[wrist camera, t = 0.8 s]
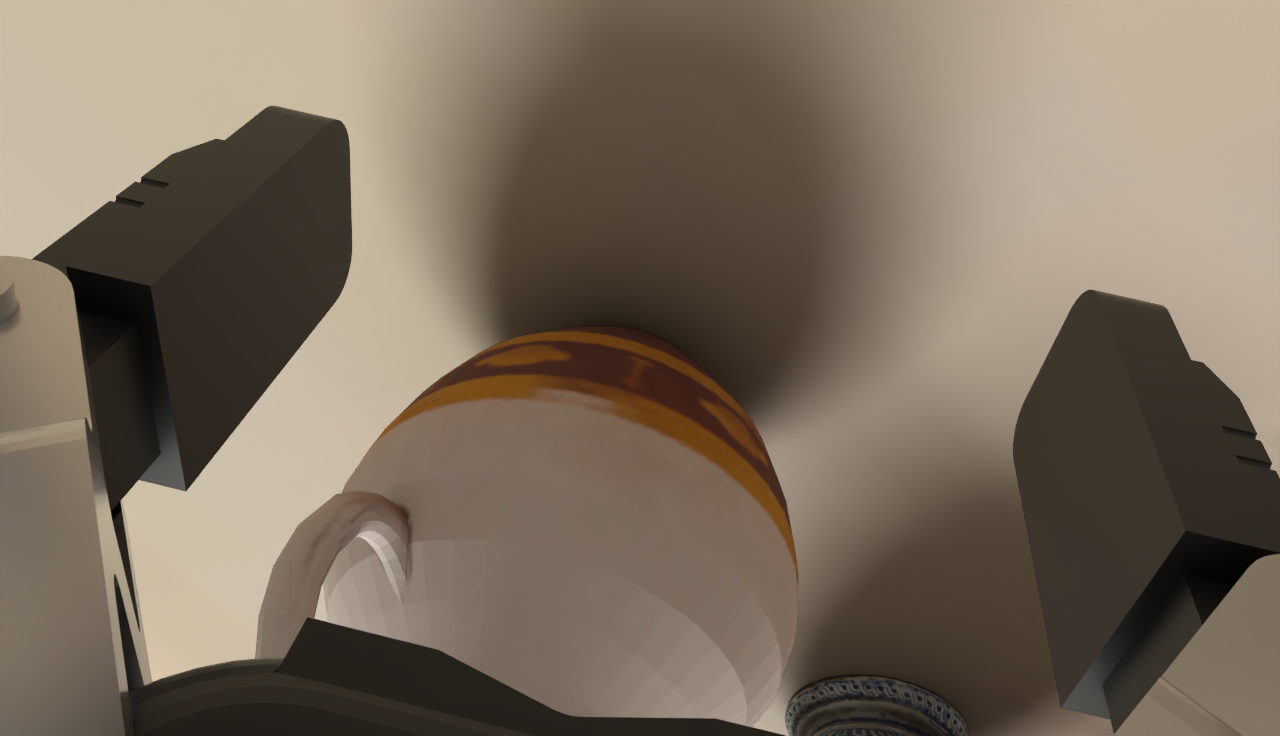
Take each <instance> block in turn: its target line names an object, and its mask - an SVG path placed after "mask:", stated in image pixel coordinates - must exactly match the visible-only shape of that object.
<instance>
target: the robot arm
mask: <svg viewBox="0 0 1280 736" xmlns="http://www.w3.org/2000/svg"><path fill="white" fill-rule="evenodd" d="M351 256H352V222H351V183H350V147H349V138H348V133H347V130H346V128H345V125H344V124H343V123H342V122H341V121H339V120H336V119H331V118H327V117H322V116H318V115H313V114H309V113H304V112H300V111H295V110H291V109H286V108H282V107H277V106H269V107H267V108H265V109H264V110H263V111H261V112H260V113H259V114H258V115H256V116H255V117H254V118H253V119H251V120H250V121H249V122H247V123H246V124H245V125H244V126H242V127H241V128H240V129H239V130H237V131H236V132H235V133H234V134H232V135H231V136H230V137H228V138H227V139H226V140H225V141H224V140H220V139H214V140H212V141H209V142H206V143H203V144H200V145H197V146H194V147H192V148H189V149H186V150H183V151H180V152H177V153H174V154H172V155H170V156H169V157H168V158H166V159H165V160H164V161H162V162H161V163H160V164H158V165H157V166H156V167H154V168H153V169H152V170H150V171H149V172H148V173H146V174H145V175H144V176H142V177H141V182H140V183H139V182H134V183H133V184H132V185H130V186H129V187H128V188H126V189H125V190H124V191H122V192H121V193H120V194H118V195H117V196H116V201H115V202H112V201H109V202H108V203H106V204H105V205H104V206H102V207H101V208H100V209H98V210H97V211H96V212H94V213H93V214H92V215H90V216H89V217H88V218H86V219H85V220H84V221H82V222H81V223H80V224H78V225H77V226H76V227H74V228H73V229H72V230H70V231H69V232H68V233H66V234H65V235H63V236H62V237H61V238H59V239H58V240H57V241H55V242H54V243H53V244H51V245H50V246H49V247H47V248H46V249H45V250H43V251H42V252H41V253H39V254H38V255H37V256H35V257H34V258H33V259H27V258H22V257H12V256H0V736H785V735H781V734H777V733H773V732H769V731H765V730H761V729H757V728H752V727H748V726H744V725H740V724H736V723H732V722H728V721H724V720H720V719H716V718H639V717H579V716H571V715H567V714H563V713H561V712H558V711H556V710H554V709H552V708H550V707H548V706H546V705H544V704H542V703H540V702H538V701H536V700H534V699H532V698H531V697H529V696H527V695H525V694H523V693H521V692H519V691H517V690H515V689H513V688H511V687H509V686H507V685H506V684H504V683H502V682H500V681H498V680H496V679H494V678H492V677H490V676H488V675H486V674H484V673H482V672H481V671H479V670H477V669H475V668H473V667H471V666H469V665H467V664H465V663H463V662H461V661H459V660H457V659H456V658H454V657H452V656H450V655H448V654H446V653H444V652H442V651H440V650H438V649H434V648H430V647H426V646H422V645H418V644H414V643H410V642H406V641H401V640H397V639H393V638H389V637H385V636H381V635H377V634H373V633H369V632H365V631H361V630H357V629H353V628H349V627H345V626H341V625H337V624H333V623H329V622H325V621H321V620H317V619H313V618H309V617H307V619H306V621H305V622H304V624H303V626H302V628H301V629H300V631H299V633H298V635H297V637H296V638H295V640H294V642H293V644H292V645H291V647H290V649H289V651H288V653H287V654H286V656H285V658H259V659H248V660H238V661H230V662H225V663H220V664H215V665H210V666H205V667H200V668H196V669H192V670H189V671H185V672H182V673H179V674H175V675H172V676H169V677H165V678H162V679H159V680H157V681H154V682H152V678H151V673H150V667H149V661H148V655H147V649H146V642H145V636H144V630H143V623H142V617H141V611H140V604H139V598H138V591H137V585H136V579H135V572H134V566H133V560H132V553H131V547H130V541H129V534H128V528H127V521H126V516H125V512H124V508H123V503H122V498H123V497H124V496H125V495H126V494H127V493H128V491H129V490H130V489H131V488H132V487H133V486H134V484H135V483H136V482H137V481H138V480H142V481H146V482H150V483H154V484H158V485H162V486H166V487H170V488H174V489H179V490H183V491H187V489H188V488H189V487H190V486H191V484H192V483H193V482H194V481H195V479H196V478H197V477H198V476H199V474H200V473H201V472H202V470H203V469H204V468H205V467H206V465H207V464H208V463H209V462H210V460H211V459H212V458H213V457H214V455H215V454H216V453H217V451H218V450H219V449H220V448H221V446H222V445H223V444H224V443H225V441H226V440H227V439H228V438H229V436H230V435H231V434H232V432H233V431H234V430H235V429H236V427H237V426H238V425H239V424H240V422H241V421H242V420H243V419H244V417H245V416H246V415H247V413H248V412H249V411H250V410H251V408H252V407H253V406H254V405H255V403H256V402H257V401H258V400H259V398H260V397H261V396H262V394H263V393H264V392H265V391H266V389H267V388H268V387H269V386H270V384H271V383H272V382H273V381H274V379H275V378H276V377H277V375H278V374H279V373H280V372H281V370H282V369H283V368H284V367H285V365H286V364H287V363H288V362H289V360H290V359H291V358H292V356H293V355H294V354H295V353H296V351H297V350H298V349H299V348H300V346H301V345H302V344H303V342H304V341H305V340H306V339H307V337H308V336H309V335H310V334H311V332H312V331H313V330H314V329H315V327H316V326H317V325H318V323H319V322H320V321H321V320H322V318H323V317H324V316H325V315H326V313H327V312H328V311H329V310H330V308H331V307H332V306H333V304H334V303H335V302H336V300H337V299H338V298H339V296H340V294H341V292H342V290H343V288H344V285H345V282H346V280H347V276H348V273H349V268H350V263H351ZM1256 435H1257V433H1256V431H1255V429H1254V427H1253V425H1252V423H1251V421H1250V419H1249V417H1248V415H1247V413H1246V411H1245V409H1244V407H1243V405H1242V403H1241V401H1240V399H1239V398H1238V397H1237V396H1236V395H1235V394H1234V393H1233V392H1232V391H1231V390H1230V389H1229V388H1228V387H1227V386H1226V385H1225V384H1224V383H1223V382H1222V381H1221V380H1220V379H1219V378H1218V377H1217V376H1216V375H1215V374H1214V373H1213V372H1212V371H1211V370H1210V369H1209V368H1208V367H1207V366H1206V365H1205V364H1204V363H1202V362H1198V361H1193V360H1191V359H1190V357H1189V354H1188V352H1187V350H1186V348H1185V346H1184V344H1183V342H1182V339H1181V337H1180V335H1179V333H1178V331H1177V329H1176V326H1175V324H1174V322H1173V320H1172V318H1171V316H1170V314H1169V312H1168V310H1167V309H1166V308H1165V307H1164V306H1162V305H1158V304H1154V303H1149V302H1145V301H1140V300H1136V299H1131V298H1127V297H1122V296H1118V295H1113V294H1109V293H1104V292H1100V291H1095V290H1088V291H1086V292H1084V293H1083V294H1082V295H1081V296H1080V297H1079V298H1078V299H1077V300H1076V302H1075V303H1074V305H1073V306H1072V308H1071V310H1070V312H1069V314H1068V316H1067V318H1066V320H1065V322H1064V324H1063V326H1062V328H1061V330H1060V332H1059V334H1058V336H1057V338H1056V340H1055V342H1054V344H1053V346H1052V348H1051V350H1050V352H1049V354H1048V355H1047V357H1046V359H1045V361H1044V363H1043V365H1042V367H1041V369H1040V371H1039V373H1038V375H1037V377H1036V379H1035V381H1034V383H1033V385H1032V387H1031V389H1030V391H1029V393H1028V395H1027V397H1026V399H1025V401H1024V403H1023V406H1022V408H1021V411H1020V414H1019V417H1018V420H1017V424H1016V429H1015V434H1014V442H1013V458H1014V464H1015V469H1016V475H1017V480H1018V485H1019V490H1020V496H1021V501H1022V506H1023V511H1024V516H1025V522H1026V527H1027V532H1028V537H1029V542H1030V548H1031V553H1032V558H1033V563H1034V569H1035V574H1036V579H1037V584H1038V589H1039V595H1040V600H1041V605H1042V610H1043V616H1044V621H1045V626H1046V631H1047V636H1048V642H1049V647H1050V652H1051V657H1052V663H1053V668H1054V673H1055V678H1056V683H1057V689H1058V694H1059V699H1060V704H1061V708H1065V709H1070V710H1074V711H1078V712H1082V713H1086V714H1090V715H1094V716H1098V717H1102V718H1107V719H1111V723H1112V727H1113V732H1114V735H1113V736H1280V478H1279V476H1278V474H1277V472H1276V471H1274V470H1270V467H1271V464H1272V462H1271V460H1270V458H1269V456H1268V454H1267V452H1266V450H1265V448H1264V446H1263V444H1262V442H1261V441H1259V440H1255V438H1256Z"/></svg>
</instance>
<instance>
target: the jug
mask: <svg viewBox="0 0 1280 736" xmlns="http://www.w3.org/2000/svg"><path fill="white" fill-rule="evenodd" d="M322 584H324V593H325V602H326V611H327V619H328V622H329V623H333V624H337V625H341V626H345V627H349V628H353V629H357V630H361V631H365V632H369V633H373V634H377V635H381V636H385V637H389V638H393V639H397V640H401V641H406V642H410V643H414V644H418V645H422V646H426V647H430V648H434V649H438V650H440V651H442V652H444V653H446V654H448V655H450V656H452V657H454V658H456V659H457V660H459V661H461V662H463V663H465V664H467V665H469V666H471V667H473V668H475V669H477V670H479V671H481V672H482V673H484V674H486V675H488V676H490V677H492V678H494V679H496V680H498V681H500V682H502V683H504V684H506V685H507V686H509V687H511V688H513V689H515V690H517V691H519V692H521V693H523V694H525V695H527V696H529V697H531V698H532V699H534V700H536V701H538V702H540V703H542V704H544V705H546V706H548V707H550V708H552V709H554V710H556V711H558V712H561V713H563V714H567V715H571V716H579V717H639V718H716V719H720V720H724V721H728V722H732V723H736V724H740V725H744V726H748V727H753V726H754V725H755V723H756V722H757V721H758V720H759V719H760V718H761V716H762V715H763V714H764V713H765V712H766V710H767V709H768V708H769V707H770V705H771V704H772V702H773V700H774V697H775V695H776V693H777V691H778V688H779V686H780V683H781V680H782V677H783V674H784V672H785V669H786V666H787V663H788V660H789V657H790V654H791V651H792V648H793V645H794V642H795V636H796V629H797V621H798V569H797V561H796V553H795V547H794V542H793V537H792V531H791V526H790V520H789V515H788V510H787V504H786V500H785V497H784V494H783V492H782V489H781V486H780V483H779V481H778V478H777V475H776V473H775V470H774V468H773V465H772V463H771V460H770V457H769V455H768V452H767V450H766V447H765V445H764V442H763V439H762V437H761V436H760V434H759V432H758V431H757V429H756V427H755V426H754V424H753V422H752V421H751V419H750V417H749V416H748V415H747V414H746V413H745V412H744V410H743V409H742V408H741V407H740V406H739V404H738V403H737V402H736V401H735V400H734V399H733V398H732V397H731V396H730V394H729V393H728V392H727V391H726V390H725V389H724V388H723V387H722V386H721V385H720V384H719V383H718V382H717V381H716V380H715V379H714V378H713V377H712V376H710V375H709V374H708V373H707V372H706V371H705V370H704V369H703V368H701V367H700V366H699V365H698V364H697V363H695V362H694V361H693V360H691V359H690V358H689V357H687V356H686V355H685V354H683V353H682V352H681V351H679V350H678V349H676V348H675V347H673V346H672V345H670V344H669V343H667V342H665V341H663V340H661V339H660V338H658V337H656V336H653V335H650V334H648V333H645V332H642V331H639V330H634V329H630V328H624V327H615V326H596V327H571V328H564V329H558V330H552V331H546V332H540V333H535V334H529V335H523V336H520V337H516V338H513V339H510V340H507V341H504V342H500V343H498V344H496V345H494V346H492V347H490V348H488V349H486V350H484V351H482V352H480V353H478V354H477V355H475V356H474V357H472V358H471V359H469V360H468V361H466V362H465V363H463V364H461V365H460V366H458V367H457V368H455V369H454V370H452V371H451V372H449V373H448V374H446V375H445V376H443V377H442V378H440V379H439V380H438V381H436V382H435V383H434V384H433V385H431V386H430V387H429V388H428V389H426V390H425V391H424V392H423V393H422V394H421V395H420V396H419V397H418V398H416V399H415V400H414V401H413V402H412V403H411V404H410V405H409V406H408V407H407V408H406V409H405V410H404V411H403V412H402V413H401V414H400V415H399V416H398V417H397V418H396V419H395V420H394V421H393V422H392V423H391V424H390V425H389V426H388V427H387V428H385V430H384V431H383V432H382V434H381V435H380V436H379V437H378V439H377V440H376V441H375V443H374V444H373V445H372V446H371V448H370V449H369V451H368V452H367V453H366V455H365V456H364V458H363V459H362V461H361V462H360V464H359V465H358V466H357V468H356V469H355V471H354V472H353V474H352V475H351V477H350V478H349V479H348V481H347V482H346V484H345V486H344V489H343V491H342V493H341V494H336V495H335V496H333V497H332V498H331V499H330V500H329V501H327V502H326V503H325V504H324V505H322V506H321V507H320V508H319V509H317V510H316V511H315V512H314V513H312V514H311V515H310V516H309V517H307V518H306V519H305V520H304V521H303V522H301V523H300V524H299V525H298V526H297V528H296V529H295V531H294V533H293V534H292V536H291V538H290V539H289V541H288V543H287V544H286V546H285V547H284V549H283V551H282V552H281V554H280V556H279V557H278V559H277V560H276V562H275V564H274V565H273V569H272V572H271V576H270V579H269V583H268V586H267V589H266V593H265V596H264V600H263V603H262V606H261V610H260V613H259V619H258V631H257V643H256V655H255V659H259V658H285V656H286V654H287V653H288V651H289V649H290V647H291V645H292V644H293V642H294V640H295V638H296V637H297V635H298V633H299V631H300V629H301V628H302V626H303V624H304V622H305V621H306V619H307V617H309V618H313V619H314V617H315V612H316V608H317V603H318V599H319V594H320V590H321V586H322Z"/></svg>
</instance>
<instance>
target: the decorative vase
mask: <svg viewBox="0 0 1280 736" xmlns="http://www.w3.org/2000/svg"><path fill="white" fill-rule="evenodd" d="M785 723H786V728H787V731H788V733H789V736H968V729H967V725H966V723H965V721H964V719H963V718H962V716H961V715H960V714H959V713H958V712H957V711H956V710H955V709H954V708H953V707H952V706H950V705H949V704H948V703H947V702H946V701H944V700H943V699H941V698H940V697H938V696H937V695H935V694H933V693H931V692H929V691H927V690H925V689H922V688H919V687H918V686H916V685H914V684H911V683H908V682H903V681H899V680H895V679H891V678H886V677H880V676H867V675H854V676H840V677H833V678H828V679H825V680H821V681H819V682H818V683H815V684H811V685H809V686H807V687H804V688H803V689H802V690H801V691H799V692H798V693H796V694H795V695H794V696H793V698H792V699H791V701H790V702H789V705H788V707H787V710H786V716H785Z"/></svg>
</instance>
